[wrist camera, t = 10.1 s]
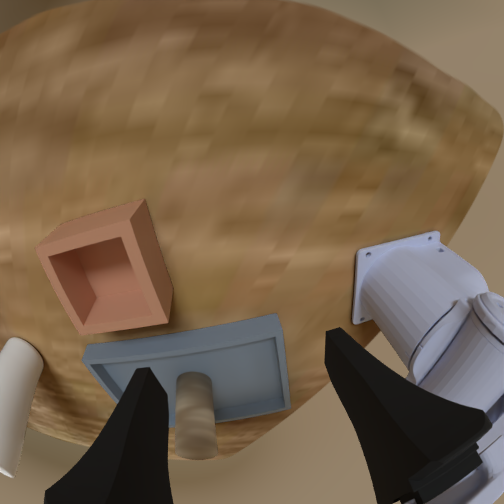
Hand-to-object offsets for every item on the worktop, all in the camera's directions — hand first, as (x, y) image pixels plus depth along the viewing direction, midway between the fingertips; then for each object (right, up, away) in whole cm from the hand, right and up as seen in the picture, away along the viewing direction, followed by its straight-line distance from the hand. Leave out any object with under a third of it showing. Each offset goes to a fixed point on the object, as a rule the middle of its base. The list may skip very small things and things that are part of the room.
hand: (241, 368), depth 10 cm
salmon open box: (-9, +4, +8) cm, 13 cm away
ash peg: (-5, -8, +14) cm, 17 cm away
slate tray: (-5, -8, +15) cm, 18 cm away
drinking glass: (-25, -7, +11) cm, 28 cm away
